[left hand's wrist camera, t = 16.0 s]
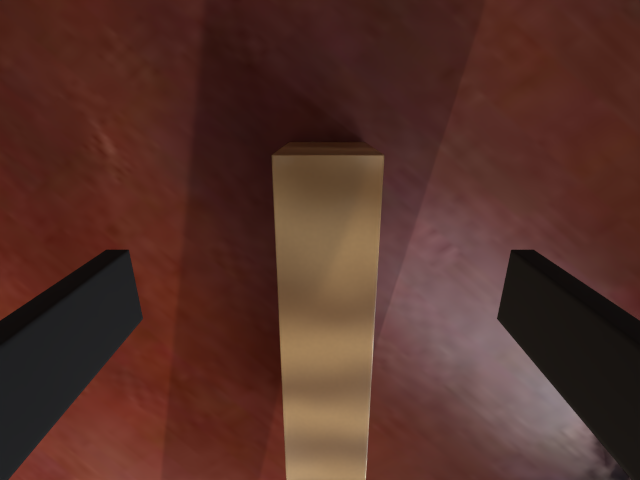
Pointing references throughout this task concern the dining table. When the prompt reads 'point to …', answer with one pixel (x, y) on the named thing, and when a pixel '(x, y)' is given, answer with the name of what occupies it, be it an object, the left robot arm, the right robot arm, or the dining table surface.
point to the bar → (327, 302)
